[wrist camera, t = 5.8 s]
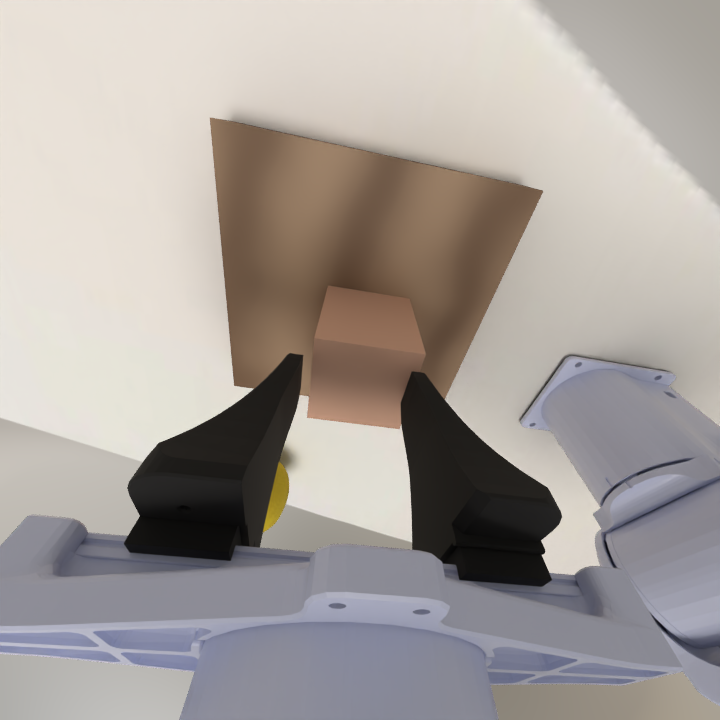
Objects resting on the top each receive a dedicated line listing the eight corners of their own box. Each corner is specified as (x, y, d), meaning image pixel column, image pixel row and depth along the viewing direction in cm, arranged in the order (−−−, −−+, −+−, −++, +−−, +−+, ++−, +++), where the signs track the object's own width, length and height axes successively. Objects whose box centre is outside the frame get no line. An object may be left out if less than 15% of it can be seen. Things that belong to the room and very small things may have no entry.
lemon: (249, 433, 30) (216, 515, 23) (302, 449, 31) (286, 530, 24) (238, 464, 33) (206, 543, 26) (287, 476, 34) (268, 555, 27)
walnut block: (521, 185, 17) (543, 190, 15) (431, 393, 26) (437, 414, 24) (230, 121, 15) (210, 117, 13) (245, 365, 25) (234, 385, 23)
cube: (409, 298, 18) (426, 354, 13) (391, 363, 21) (399, 428, 16) (327, 285, 18) (314, 338, 13) (320, 353, 21) (307, 417, 16)
